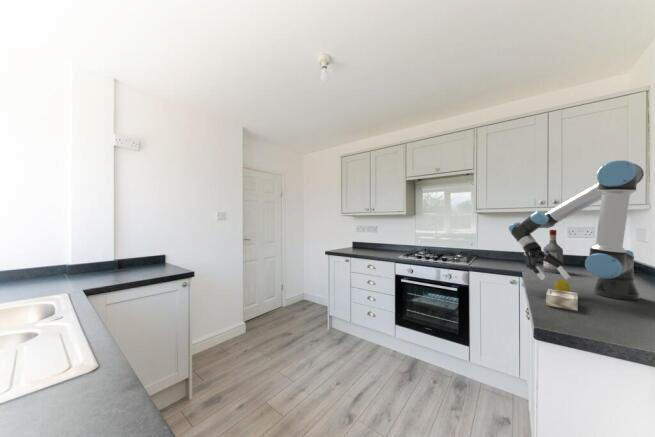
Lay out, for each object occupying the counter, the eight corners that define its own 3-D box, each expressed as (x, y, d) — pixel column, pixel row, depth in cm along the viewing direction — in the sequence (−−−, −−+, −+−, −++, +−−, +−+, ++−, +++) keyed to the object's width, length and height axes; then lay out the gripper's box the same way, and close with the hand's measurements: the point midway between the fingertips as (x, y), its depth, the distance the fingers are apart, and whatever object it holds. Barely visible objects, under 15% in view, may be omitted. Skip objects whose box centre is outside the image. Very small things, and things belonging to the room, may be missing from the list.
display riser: (577, 303, 115) (577, 293, 115) (577, 310, 106) (577, 299, 106) (548, 298, 122) (548, 288, 122) (546, 305, 113) (546, 294, 113)
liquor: (554, 273, 177) (554, 230, 177) (541, 270, 186) (541, 229, 186) (565, 272, 179) (565, 230, 179) (551, 270, 188) (551, 229, 188)
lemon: (554, 293, 131) (554, 277, 131) (569, 295, 128) (569, 279, 128) (554, 295, 127) (554, 279, 127) (570, 297, 123) (570, 281, 123)
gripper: (545, 249, 149) (572, 281, 134) (505, 250, 146) (528, 282, 131) (554, 241, 143) (583, 273, 128) (513, 241, 141) (538, 274, 126)
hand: (555, 278), depth 130 cm, fingers open, 13 cm apart
